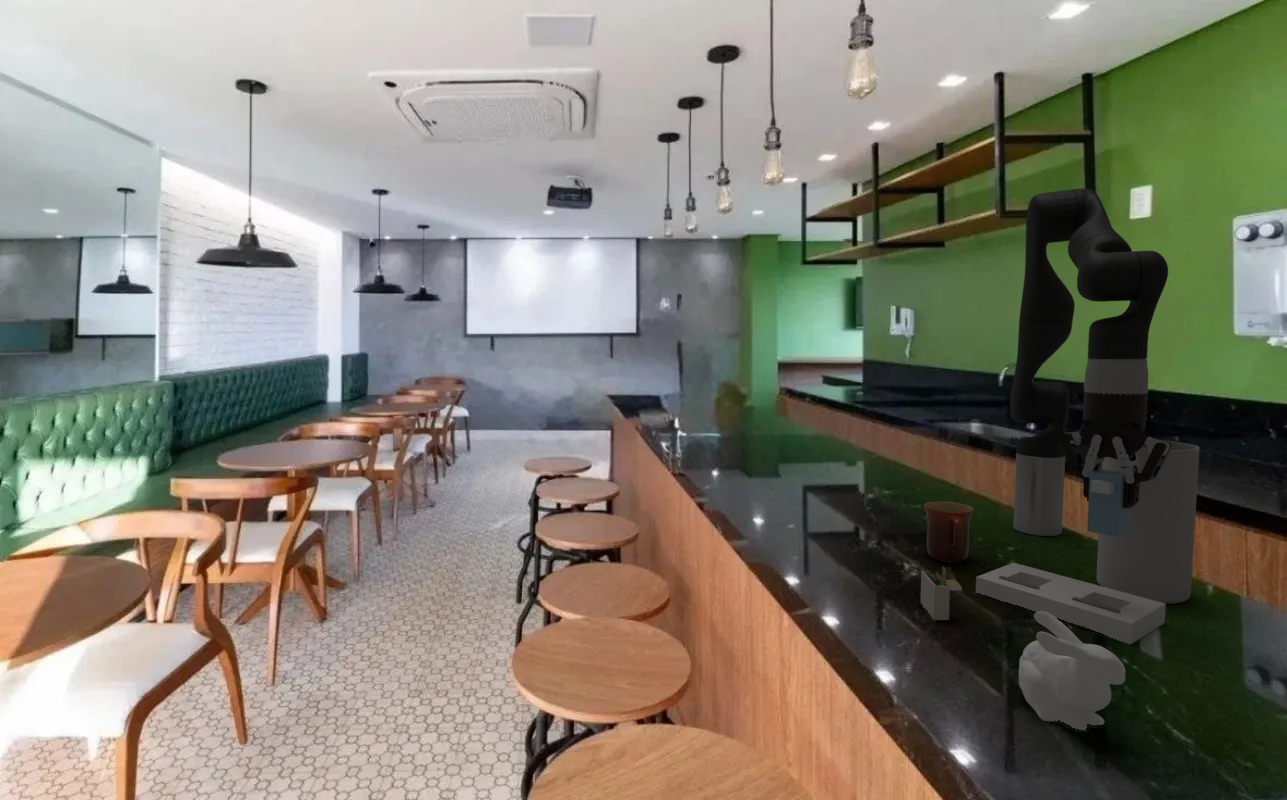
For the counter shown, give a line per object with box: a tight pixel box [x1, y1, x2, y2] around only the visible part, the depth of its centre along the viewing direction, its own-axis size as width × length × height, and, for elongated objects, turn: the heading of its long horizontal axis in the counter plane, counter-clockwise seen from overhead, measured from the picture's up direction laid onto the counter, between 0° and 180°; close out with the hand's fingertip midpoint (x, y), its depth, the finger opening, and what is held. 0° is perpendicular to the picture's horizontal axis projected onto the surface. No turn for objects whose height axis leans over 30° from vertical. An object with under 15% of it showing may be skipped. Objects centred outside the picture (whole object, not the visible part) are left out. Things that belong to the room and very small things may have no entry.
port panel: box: [975, 562, 1167, 645], centre depth 101 cm, size 12×22×3 cm, turn 33°
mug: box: [923, 501, 974, 562], centre depth 123 cm, size 12×9×10 cm
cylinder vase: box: [1096, 439, 1200, 605], centre depth 106 cm, size 12×12×25 cm
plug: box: [1086, 468, 1131, 537], centre depth 95 cm, size 5×4×9 cm
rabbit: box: [1018, 611, 1126, 731], centre depth 73 cm, size 12×9×12 cm
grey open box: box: [920, 565, 963, 621], centre depth 100 cm, size 4×7×8 cm, turn 172°
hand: (1109, 503), depth 95 cm, fingers closed on plug, 4 cm apart
